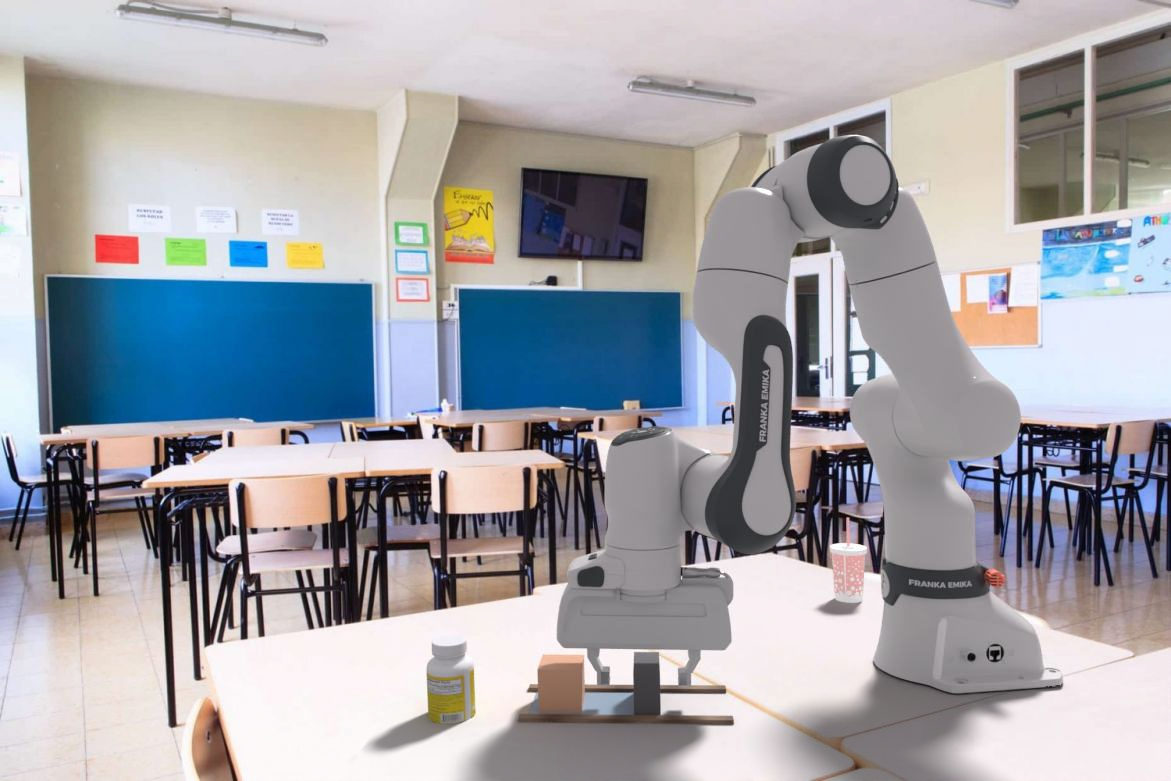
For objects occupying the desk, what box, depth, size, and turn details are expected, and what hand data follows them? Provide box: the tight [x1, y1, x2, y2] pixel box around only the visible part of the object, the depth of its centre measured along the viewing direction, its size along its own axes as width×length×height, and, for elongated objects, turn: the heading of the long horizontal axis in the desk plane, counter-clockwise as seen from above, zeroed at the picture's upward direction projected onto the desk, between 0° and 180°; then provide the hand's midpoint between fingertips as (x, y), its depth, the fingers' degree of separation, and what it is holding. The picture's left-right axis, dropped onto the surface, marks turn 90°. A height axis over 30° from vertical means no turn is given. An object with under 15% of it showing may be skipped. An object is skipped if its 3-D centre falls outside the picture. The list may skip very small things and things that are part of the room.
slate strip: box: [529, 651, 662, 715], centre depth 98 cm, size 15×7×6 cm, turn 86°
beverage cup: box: [829, 517, 868, 604], centre depth 143 cm, size 6×6×14 cm
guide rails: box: [517, 683, 735, 725], centre depth 98 cm, size 24×10×2 cm, turn 86°
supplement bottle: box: [426, 634, 476, 725], centre depth 97 cm, size 5×5×10 cm
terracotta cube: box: [537, 654, 586, 713], centre depth 99 cm, size 5×5×5 cm
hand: (643, 684), depth 98 cm, fingers open, 8 cm apart
